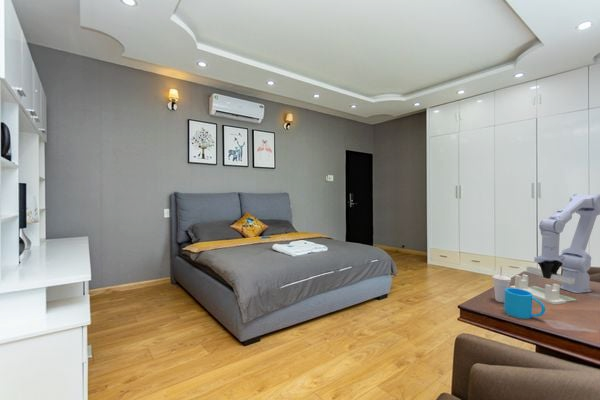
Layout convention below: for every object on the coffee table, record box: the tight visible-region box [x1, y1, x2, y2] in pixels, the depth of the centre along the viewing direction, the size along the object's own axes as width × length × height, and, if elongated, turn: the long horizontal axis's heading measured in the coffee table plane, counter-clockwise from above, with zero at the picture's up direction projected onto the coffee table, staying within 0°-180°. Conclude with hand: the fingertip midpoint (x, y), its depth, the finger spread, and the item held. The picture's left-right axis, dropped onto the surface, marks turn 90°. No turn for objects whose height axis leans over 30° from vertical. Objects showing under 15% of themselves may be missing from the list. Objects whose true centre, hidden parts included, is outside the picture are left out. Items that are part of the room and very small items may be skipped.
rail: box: [526, 266, 575, 284], centre depth 127 cm, size 2×18×2 cm, turn 13°
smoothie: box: [492, 266, 512, 303], centre depth 120 cm, size 6×6×14 cm
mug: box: [503, 287, 546, 319], centre depth 106 cm, size 12×8×8 cm
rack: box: [509, 273, 567, 305], centre depth 126 cm, size 6×19×7 cm, turn 13°
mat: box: [528, 285, 578, 303], centre depth 128 cm, size 7×17×1 cm, turn 13°
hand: (549, 277), depth 127 cm, fingers closed on rail, 2 cm apart
